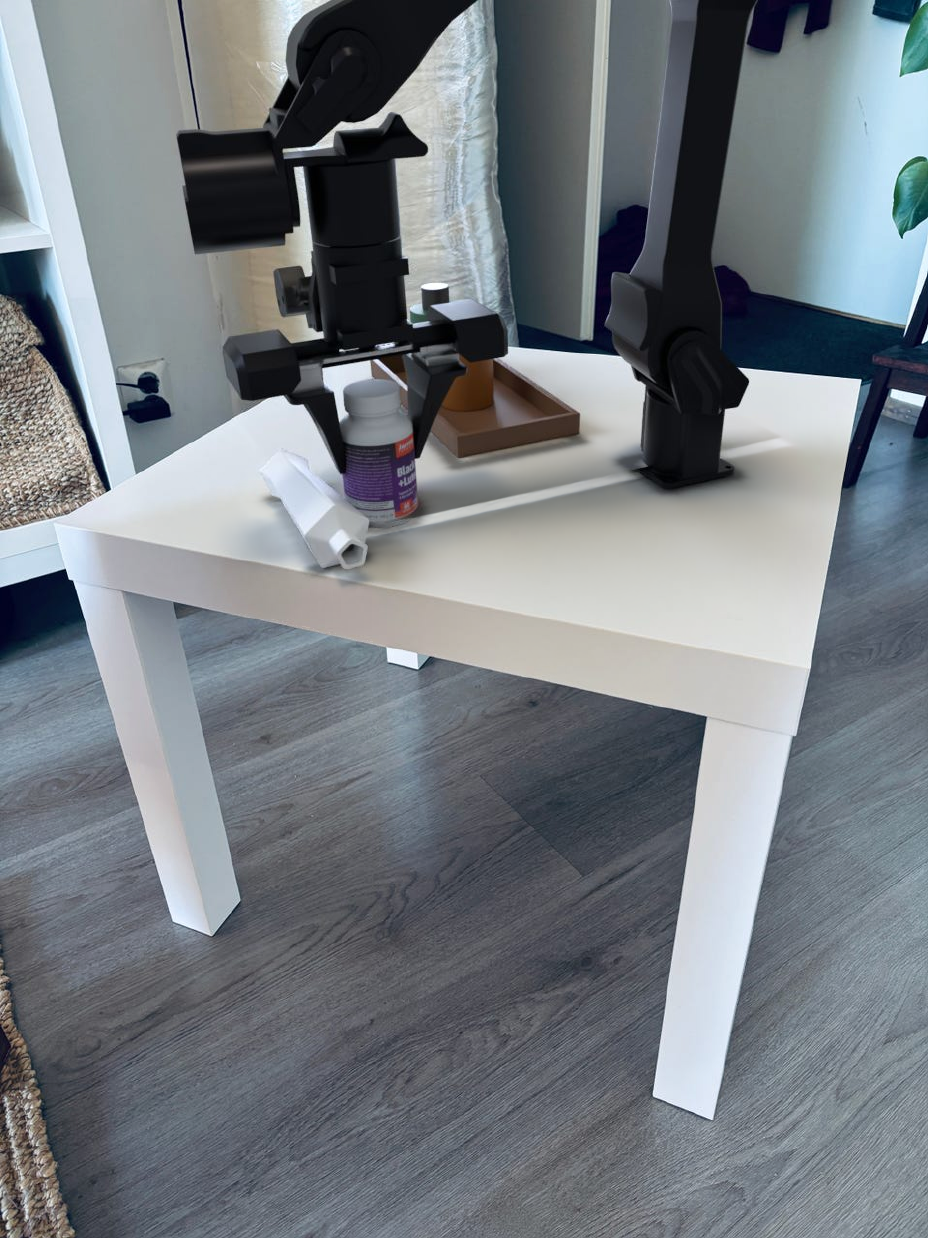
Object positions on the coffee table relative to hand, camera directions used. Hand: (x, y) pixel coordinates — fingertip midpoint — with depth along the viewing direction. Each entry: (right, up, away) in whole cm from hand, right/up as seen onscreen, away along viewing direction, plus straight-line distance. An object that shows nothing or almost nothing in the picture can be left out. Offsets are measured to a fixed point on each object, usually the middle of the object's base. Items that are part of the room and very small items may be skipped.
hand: (378, 464), depth 70 cm
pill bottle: (0, -4, +2) cm, 4 cm away
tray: (+7, +8, +20) cm, 22 cm away
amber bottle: (+6, +9, +19) cm, 22 cm away
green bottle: (+4, +12, +25) cm, 28 cm away
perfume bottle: (-8, 0, +5) cm, 9 cm away
